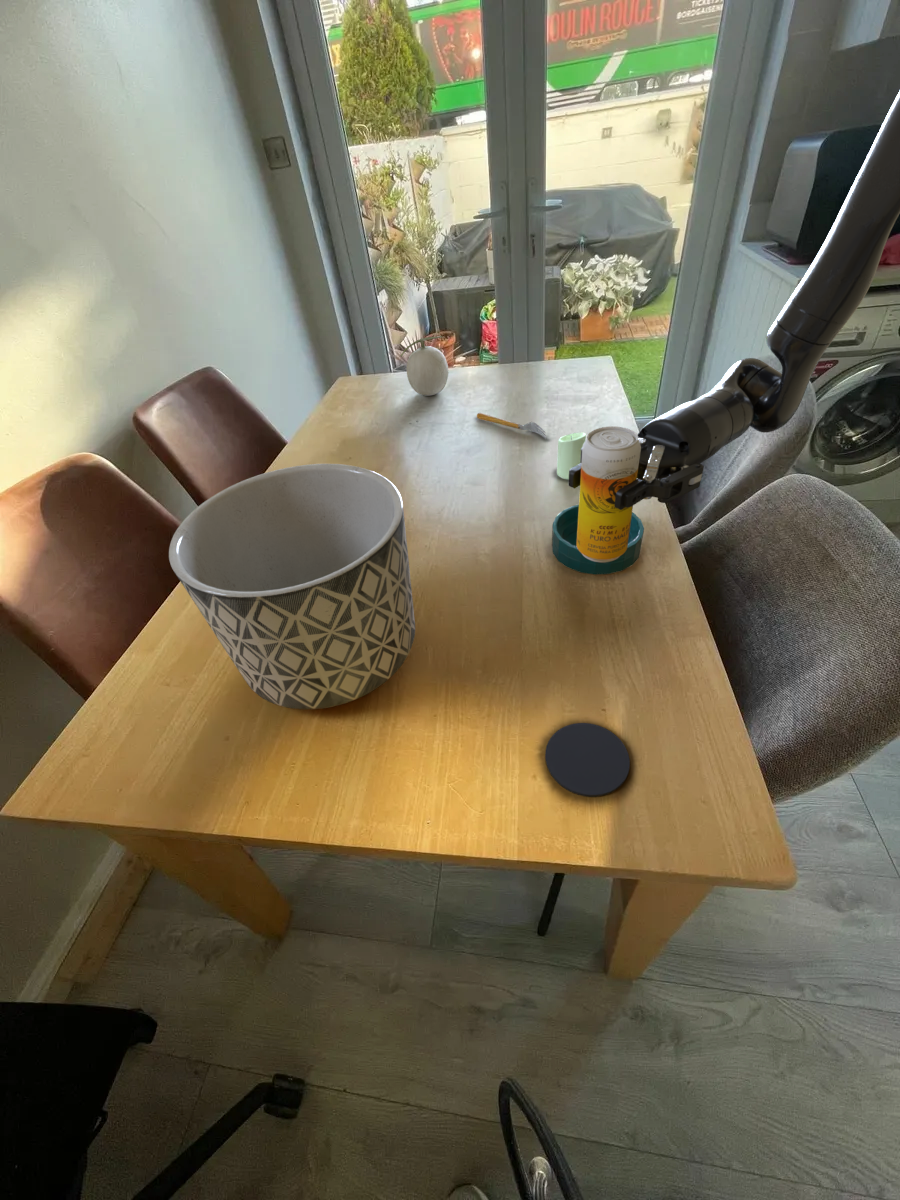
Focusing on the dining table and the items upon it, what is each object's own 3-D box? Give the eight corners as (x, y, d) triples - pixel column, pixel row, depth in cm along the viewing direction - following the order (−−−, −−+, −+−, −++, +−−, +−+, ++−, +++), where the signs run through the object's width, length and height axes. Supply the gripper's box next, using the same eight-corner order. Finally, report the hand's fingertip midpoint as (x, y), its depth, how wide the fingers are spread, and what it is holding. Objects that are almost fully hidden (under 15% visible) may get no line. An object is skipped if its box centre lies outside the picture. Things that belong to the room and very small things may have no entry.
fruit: (406, 389, 147) (397, 329, 137) (449, 384, 147) (443, 323, 137) (406, 404, 139) (397, 342, 129) (451, 399, 139) (445, 336, 129)
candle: (551, 473, 107) (552, 434, 102) (569, 464, 109) (571, 424, 104) (570, 482, 104) (573, 442, 98) (588, 472, 106) (591, 432, 101)
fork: (473, 413, 128) (545, 431, 116) (478, 408, 128) (550, 426, 117) (476, 422, 129) (546, 441, 118) (481, 418, 130) (551, 435, 119)
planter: (402, 740, 65) (365, 601, 50) (203, 721, 69) (117, 590, 55) (442, 594, 83) (423, 462, 69) (283, 587, 88) (235, 463, 74)
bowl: (644, 531, 90) (648, 508, 87) (633, 583, 81) (637, 559, 78) (562, 520, 95) (563, 498, 92) (542, 568, 86) (543, 545, 83)
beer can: (589, 570, 66) (599, 455, 56) (568, 542, 70) (573, 431, 60) (635, 558, 67) (653, 442, 57) (611, 531, 71) (624, 420, 61)
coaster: (634, 736, 62) (635, 734, 62) (622, 808, 56) (623, 806, 56) (555, 716, 65) (555, 714, 65) (536, 782, 59) (536, 780, 59)
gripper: (639, 393, 70) (546, 440, 63) (748, 424, 61) (653, 483, 54) (632, 448, 75) (546, 496, 68) (731, 484, 66) (643, 544, 59)
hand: (594, 490), depth 61 cm, fingers closed on beer can, 6 cm apart
